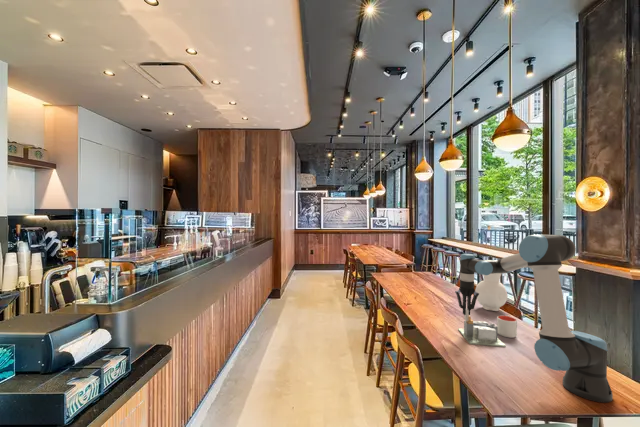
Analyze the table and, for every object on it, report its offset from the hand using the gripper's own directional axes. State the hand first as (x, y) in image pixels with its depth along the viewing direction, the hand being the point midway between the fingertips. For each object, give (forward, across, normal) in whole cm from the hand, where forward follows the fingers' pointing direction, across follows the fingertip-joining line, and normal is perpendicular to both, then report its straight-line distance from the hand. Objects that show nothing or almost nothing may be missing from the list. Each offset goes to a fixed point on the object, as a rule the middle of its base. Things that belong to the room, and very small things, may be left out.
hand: (466, 320), depth 170 cm
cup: (+10, -26, -8) cm, 29 cm away
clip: (+1, -2, 0) cm, 2 cm away
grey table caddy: (+10, -8, 0) cm, 13 cm away
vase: (+10, -37, -58) cm, 69 cm away
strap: (+3, -10, 0) cm, 10 cm away
